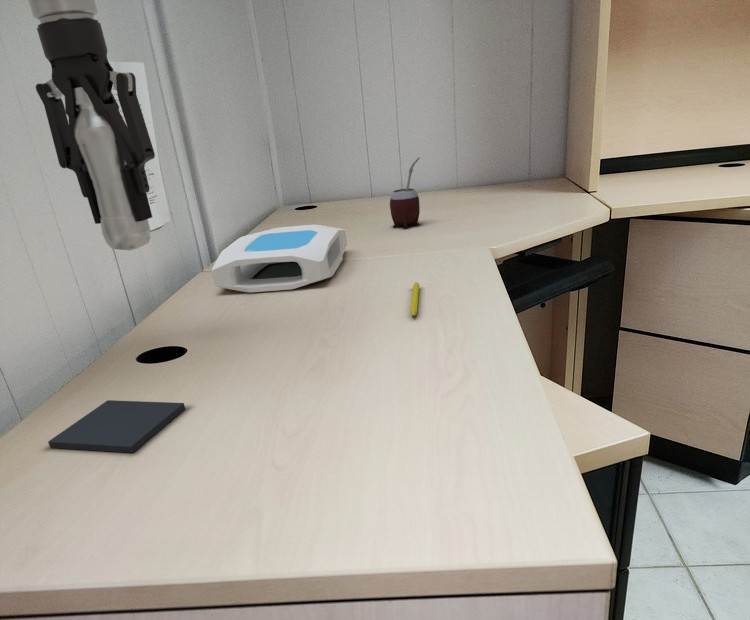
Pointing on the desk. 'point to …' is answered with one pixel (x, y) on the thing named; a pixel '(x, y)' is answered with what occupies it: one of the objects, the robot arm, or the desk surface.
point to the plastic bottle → (108, 177)
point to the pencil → (414, 299)
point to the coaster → (117, 426)
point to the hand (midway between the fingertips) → (123, 220)
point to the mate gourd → (405, 205)
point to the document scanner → (280, 257)
